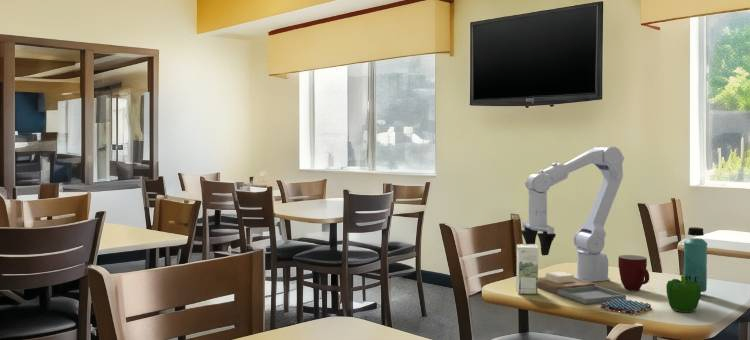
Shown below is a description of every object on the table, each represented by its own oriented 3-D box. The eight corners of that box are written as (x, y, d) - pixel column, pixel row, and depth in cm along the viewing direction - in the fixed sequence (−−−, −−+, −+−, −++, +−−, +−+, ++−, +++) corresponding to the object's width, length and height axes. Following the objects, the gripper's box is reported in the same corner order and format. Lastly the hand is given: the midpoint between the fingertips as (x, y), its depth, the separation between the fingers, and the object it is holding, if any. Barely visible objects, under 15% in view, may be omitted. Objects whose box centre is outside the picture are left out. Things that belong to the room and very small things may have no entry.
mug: (659, 292, 199) (659, 259, 198) (640, 295, 195) (641, 261, 194) (630, 285, 208) (630, 254, 207) (612, 288, 204) (612, 256, 203)
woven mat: (597, 310, 180) (597, 303, 180) (617, 303, 187) (617, 296, 187) (634, 318, 172) (634, 310, 172) (653, 310, 180) (653, 303, 179)
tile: (561, 277, 211) (561, 271, 211) (573, 281, 205) (573, 275, 205) (545, 279, 209) (546, 272, 208) (557, 283, 203) (557, 276, 203)
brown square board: (566, 280, 215) (566, 274, 215) (595, 290, 202) (595, 283, 202) (529, 284, 210) (529, 278, 210) (556, 294, 197) (556, 287, 197)
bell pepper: (674, 304, 184) (675, 269, 183) (704, 310, 178) (705, 273, 177) (660, 310, 178) (660, 273, 178) (691, 316, 172) (691, 278, 172)
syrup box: (535, 290, 202) (535, 243, 201) (538, 295, 196) (538, 246, 195) (516, 290, 202) (516, 243, 202) (518, 294, 197) (518, 246, 196)
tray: (595, 290, 202) (595, 285, 202) (625, 300, 190) (626, 294, 189) (557, 294, 197) (557, 289, 197) (585, 304, 185) (585, 299, 185)
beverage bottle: (705, 293, 197) (706, 226, 196) (708, 298, 191) (709, 229, 190) (681, 291, 199) (682, 225, 198) (683, 296, 193) (685, 228, 192)
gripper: (514, 209, 218) (514, 250, 218) (540, 214, 204) (540, 257, 205) (532, 208, 220) (532, 249, 221) (559, 213, 207) (559, 256, 208)
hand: (537, 253), depth 213 cm, fingers open, 7 cm apart
